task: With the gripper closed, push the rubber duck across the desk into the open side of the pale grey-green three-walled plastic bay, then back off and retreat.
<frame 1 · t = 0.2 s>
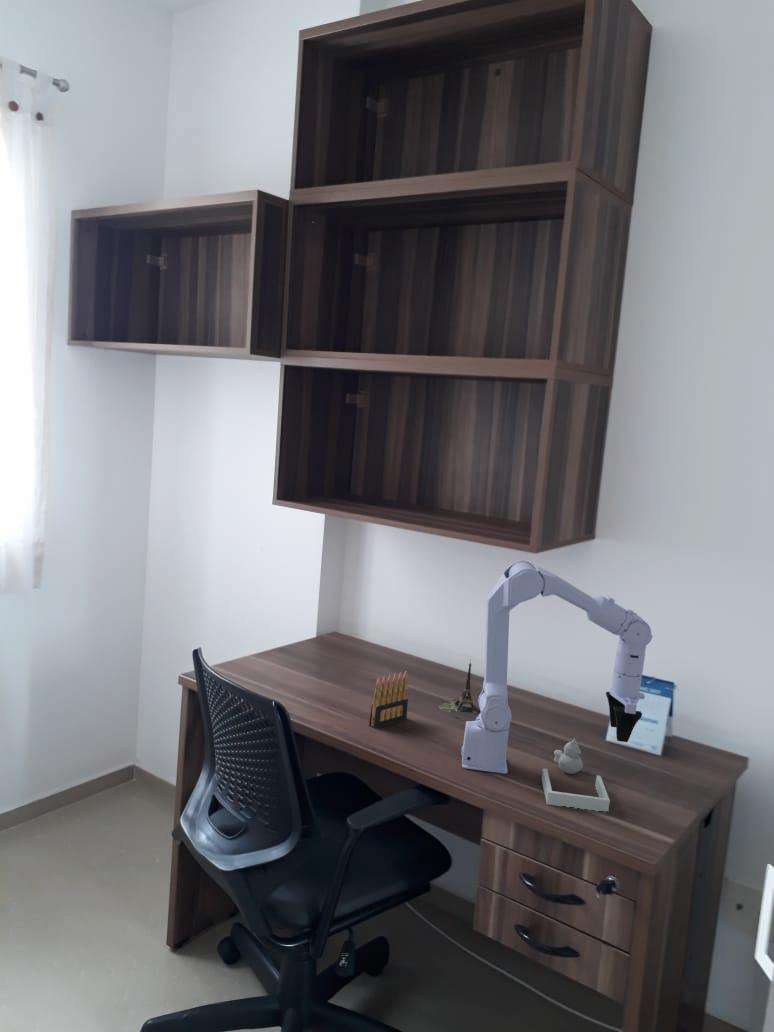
hand: (618, 733, 172), 10 cm above the table, tool pointing down, fingers open, 7 cm apart
bay: (573, 794, 164), on the table
eiffel tower figurine: (463, 710, 206), on the table
ammunition clip: (387, 723, 191), on the table
rubber duck: (566, 772, 174), on the table
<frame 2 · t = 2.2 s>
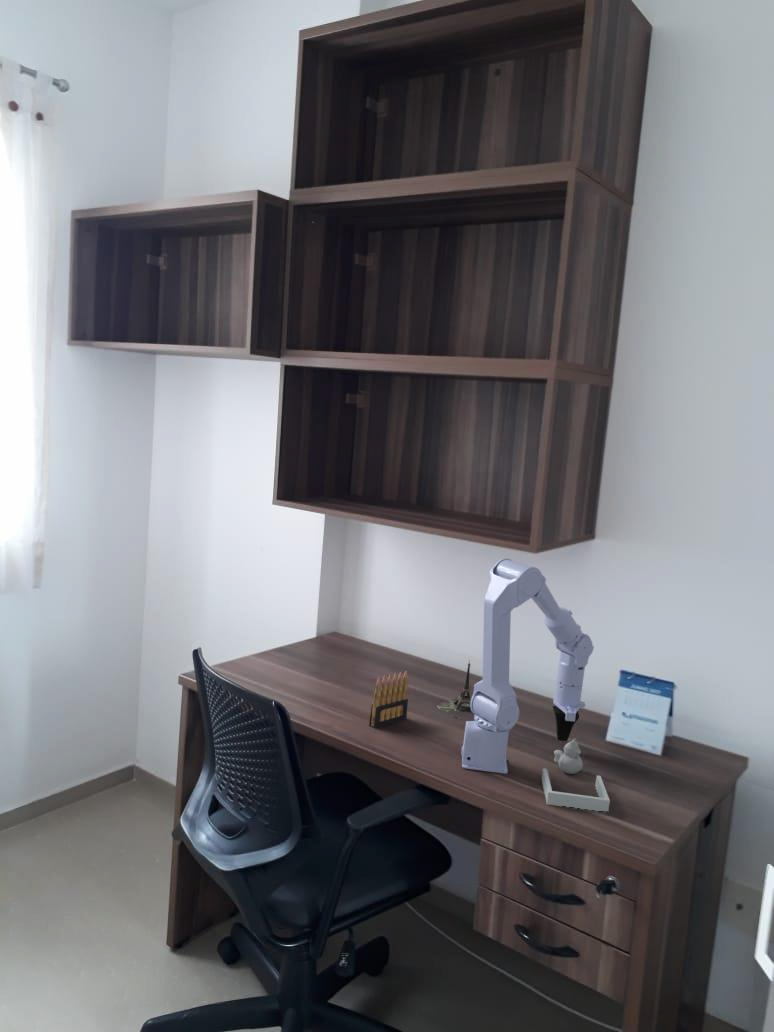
hand: (562, 739, 185), 2 cm above the table, tool pointing down, fingers closed
nothing on the table moved.
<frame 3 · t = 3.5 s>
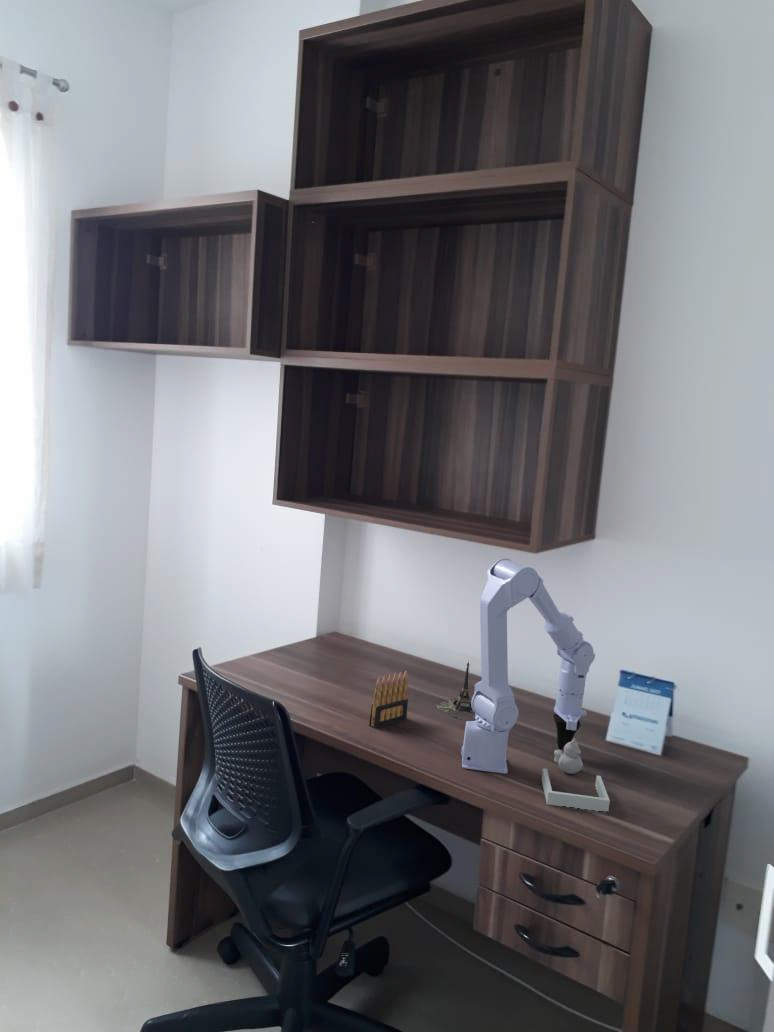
hand: (562, 748, 182), 2 cm above the table, tool pointing down, fingers closed
nothing on the table moved.
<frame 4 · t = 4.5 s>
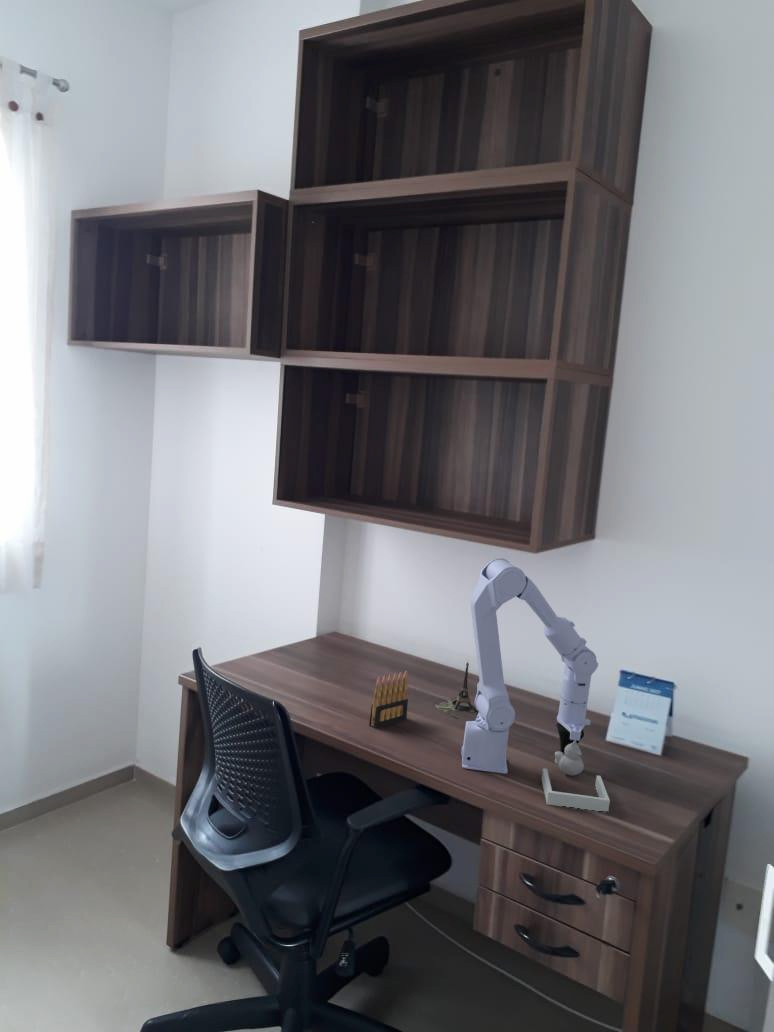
hand: (566, 758, 177), 2 cm above the table, tool pointing down, fingers closed
rubber duck: (567, 773, 174), on the table, touching gripper
everything else where it was.
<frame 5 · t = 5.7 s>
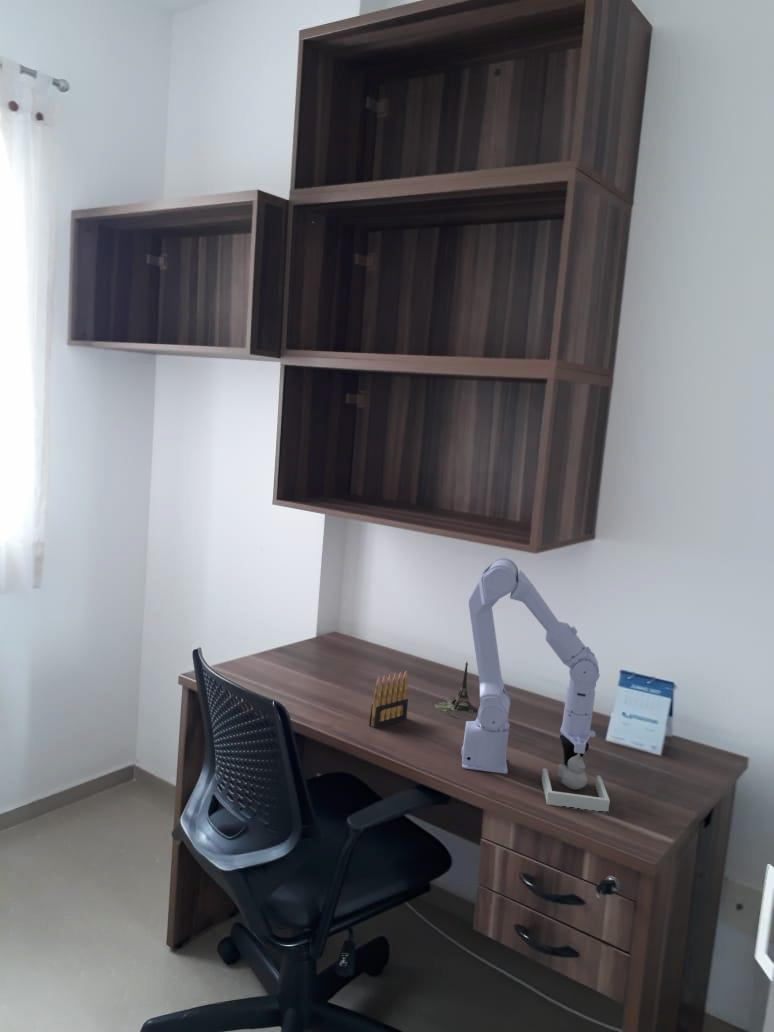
hand: (570, 771, 170), 2 cm above the table, tool pointing down, fingers closed
rubber duck: (570, 787, 167), on the table, touching gripper
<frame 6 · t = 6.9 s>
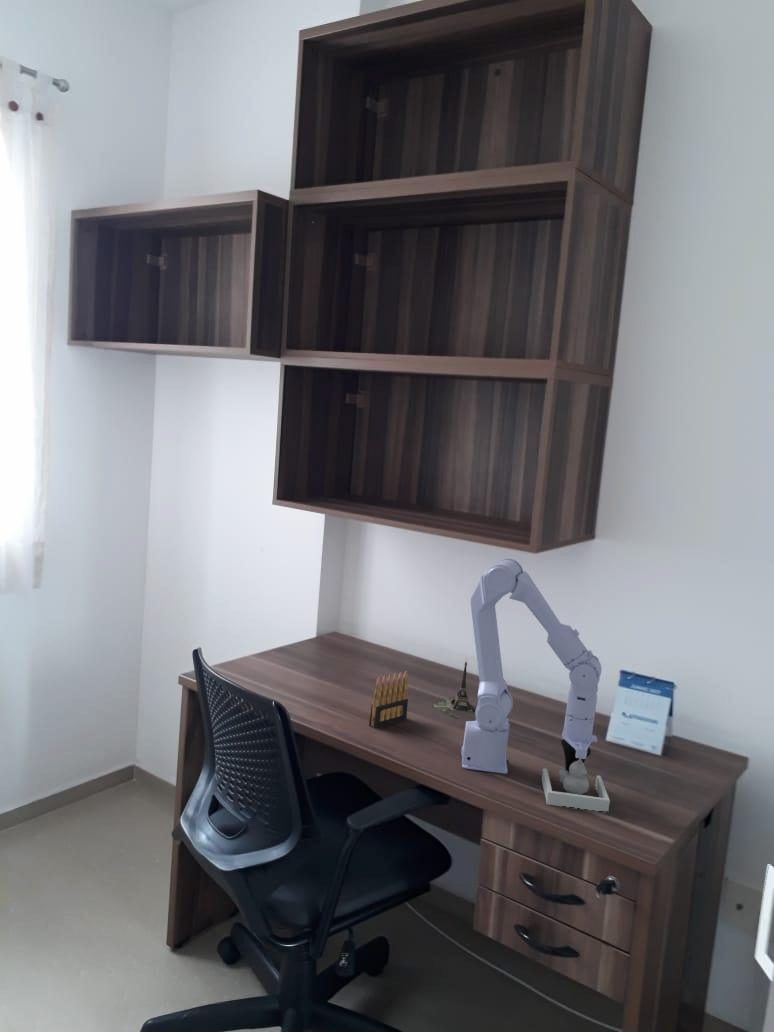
hand: (571, 777, 168), 2 cm above the table, tool pointing down, fingers closed
rubber duck: (571, 793, 165), on the table, touching gripper
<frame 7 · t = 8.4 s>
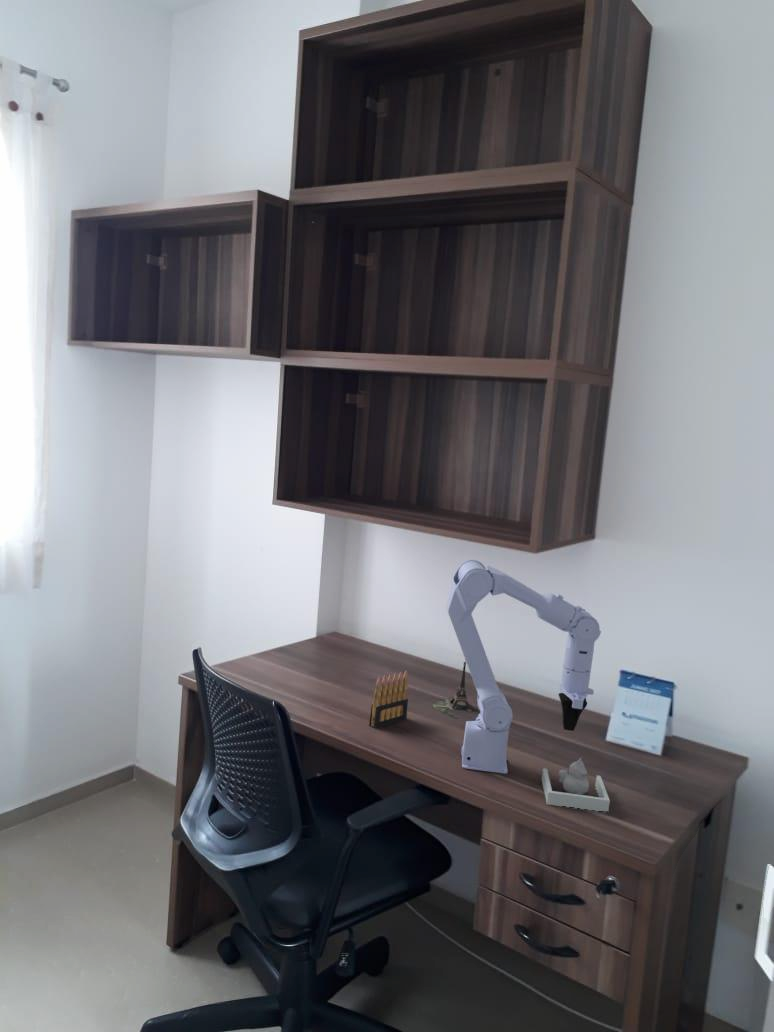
hand: (568, 729, 173), 9 cm above the table, tool pointing down, fingers closed
rubber duck: (571, 793, 165), on the table
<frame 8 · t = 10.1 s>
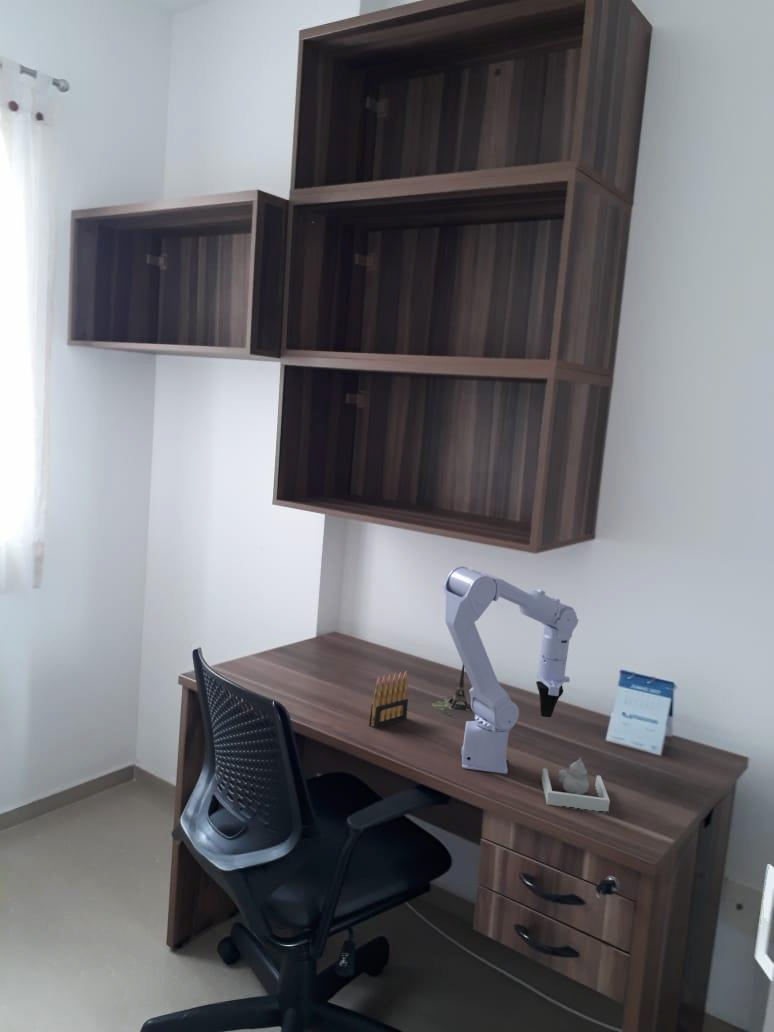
hand: (545, 715, 179), 9 cm above the table, tool pointing down, fingers closed
at the end: rubber duck inside the target area on the bay (2.0 cm from its centre), point 0.0 cm above the bay's base; rubber duck tilted 0°; rubber duck moved 10.0 cm from its start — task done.
